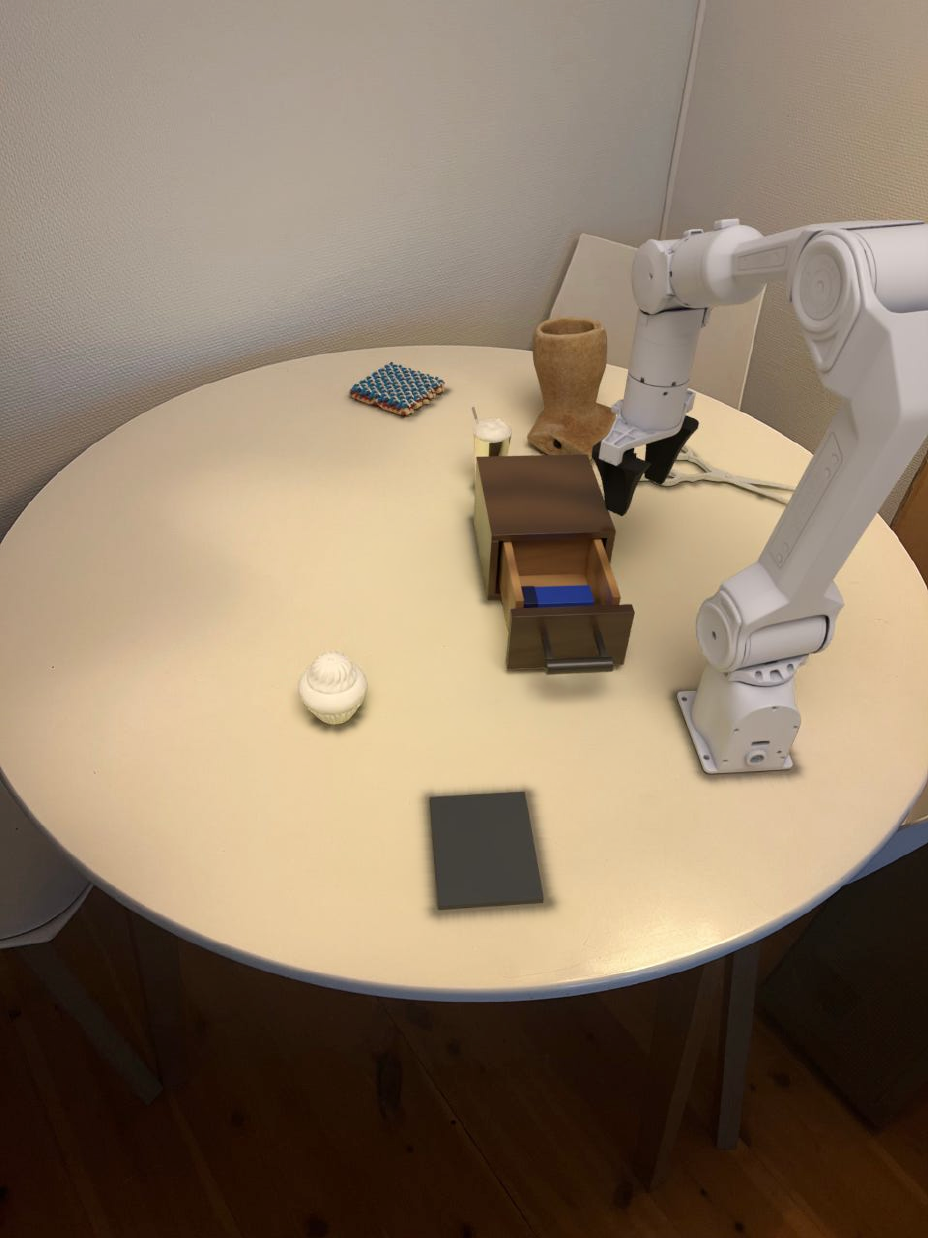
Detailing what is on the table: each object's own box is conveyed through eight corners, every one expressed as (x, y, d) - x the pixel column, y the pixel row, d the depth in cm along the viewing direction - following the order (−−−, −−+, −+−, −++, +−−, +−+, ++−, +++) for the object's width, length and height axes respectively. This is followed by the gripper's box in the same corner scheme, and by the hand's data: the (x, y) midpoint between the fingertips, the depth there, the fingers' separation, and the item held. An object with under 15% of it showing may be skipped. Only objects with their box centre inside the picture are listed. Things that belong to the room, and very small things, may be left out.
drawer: (635, 700, 82) (647, 647, 77) (513, 706, 81) (519, 653, 76) (595, 576, 95) (604, 525, 91) (490, 580, 94) (494, 528, 90)
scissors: (657, 436, 118) (810, 474, 112) (656, 442, 118) (809, 479, 112) (634, 475, 110) (797, 517, 104) (633, 481, 111) (795, 523, 105)
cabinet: (604, 596, 94) (616, 531, 88) (487, 600, 93) (491, 535, 87) (578, 516, 105) (587, 453, 99) (473, 519, 104) (476, 456, 98)
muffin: (372, 689, 83) (369, 635, 78) (364, 739, 79) (361, 685, 74) (307, 685, 83) (300, 631, 78) (295, 735, 79) (287, 681, 74)
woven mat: (448, 390, 127) (449, 377, 126) (406, 420, 120) (406, 407, 119) (390, 371, 131) (389, 358, 130) (345, 399, 124) (345, 386, 123)
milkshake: (480, 471, 112) (484, 399, 105) (514, 487, 109) (520, 415, 102) (458, 486, 109) (460, 413, 102) (492, 503, 106) (496, 429, 100)
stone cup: (542, 401, 126) (552, 297, 116) (623, 420, 122) (640, 314, 112) (502, 451, 115) (510, 342, 105) (589, 473, 112) (606, 362, 102)
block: (591, 621, 88) (594, 601, 86) (520, 624, 87) (522, 603, 86) (586, 603, 90) (589, 583, 88) (516, 606, 89) (518, 586, 88)
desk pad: (543, 902, 67) (543, 898, 67) (438, 910, 66) (438, 906, 66) (524, 795, 75) (524, 791, 74) (429, 801, 74) (429, 796, 73)
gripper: (661, 335, 88) (638, 453, 97) (579, 386, 80) (563, 510, 89) (724, 357, 85) (695, 477, 94) (647, 412, 76) (623, 538, 85)
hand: (635, 495), depth 91 cm, fingers open, 7 cm apart
